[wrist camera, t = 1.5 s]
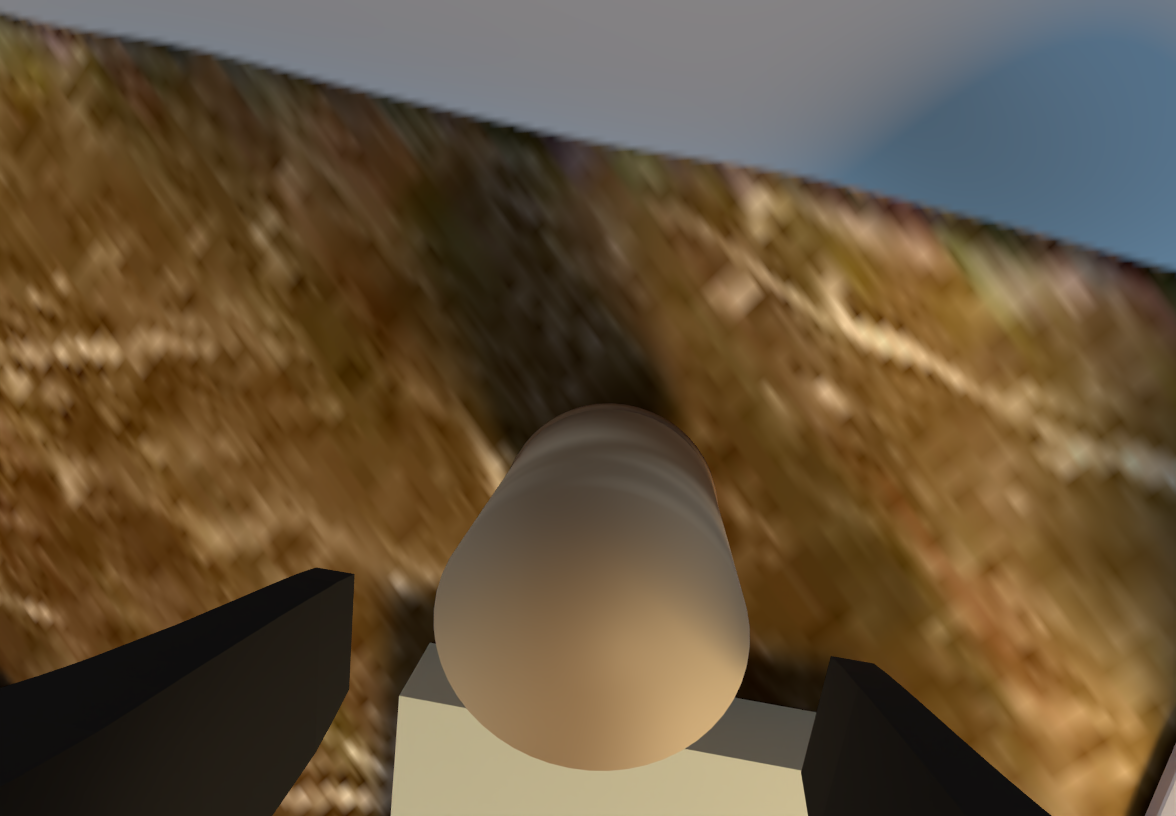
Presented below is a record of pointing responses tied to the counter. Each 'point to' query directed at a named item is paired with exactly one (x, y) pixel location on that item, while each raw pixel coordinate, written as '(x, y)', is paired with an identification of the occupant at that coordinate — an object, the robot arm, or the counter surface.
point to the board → (591, 798)
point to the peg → (596, 596)
